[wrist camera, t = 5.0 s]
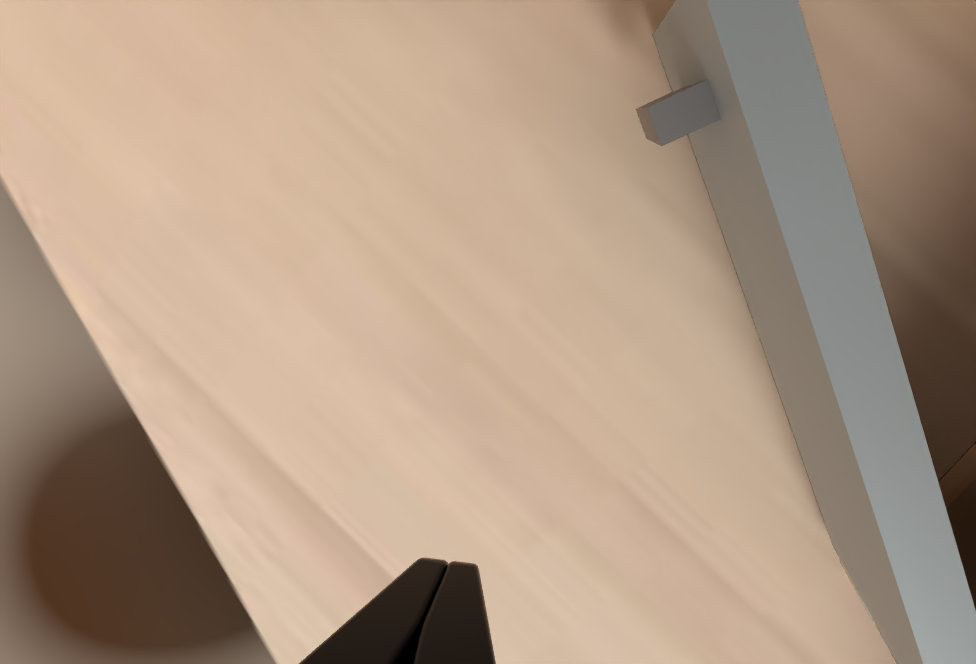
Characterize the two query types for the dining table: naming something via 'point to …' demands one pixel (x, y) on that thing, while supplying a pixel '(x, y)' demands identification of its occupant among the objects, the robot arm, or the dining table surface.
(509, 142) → the dining table surface
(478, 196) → the dining table surface
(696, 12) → the cabinet door
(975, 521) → the cabinet
